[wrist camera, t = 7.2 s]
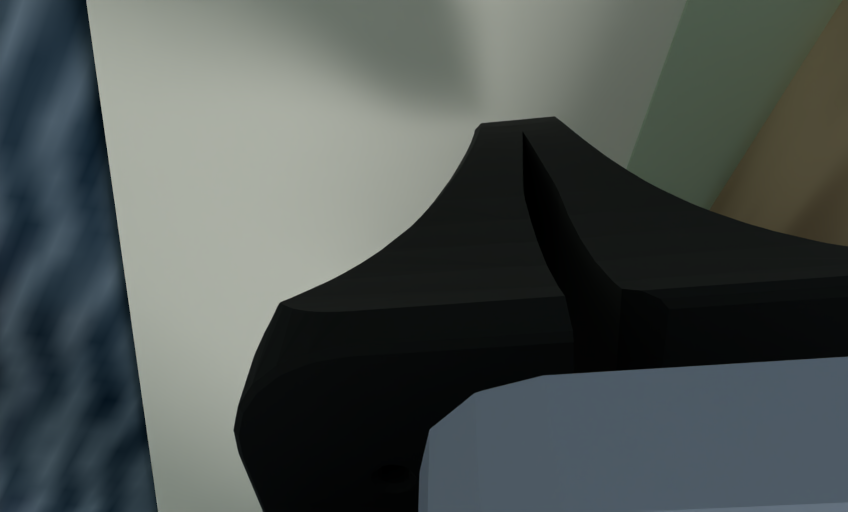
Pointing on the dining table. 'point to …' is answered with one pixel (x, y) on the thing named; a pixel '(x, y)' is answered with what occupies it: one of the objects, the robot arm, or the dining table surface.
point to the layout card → (373, 153)
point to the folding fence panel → (801, 151)
